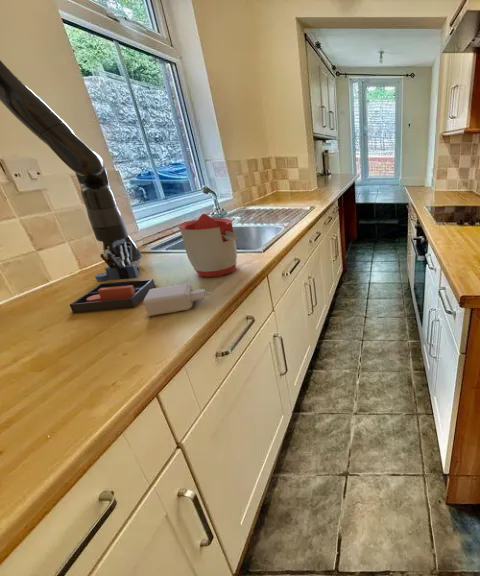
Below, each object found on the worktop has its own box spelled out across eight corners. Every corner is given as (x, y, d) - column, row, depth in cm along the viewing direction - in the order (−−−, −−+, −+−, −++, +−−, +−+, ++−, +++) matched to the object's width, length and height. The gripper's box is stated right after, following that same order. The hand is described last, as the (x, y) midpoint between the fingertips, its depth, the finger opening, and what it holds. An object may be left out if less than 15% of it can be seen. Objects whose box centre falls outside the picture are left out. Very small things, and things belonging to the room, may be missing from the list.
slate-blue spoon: (135, 279, 99) (131, 267, 98) (94, 282, 97) (89, 270, 95) (140, 275, 103) (137, 263, 101) (101, 278, 100) (96, 266, 99)
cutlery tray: (73, 313, 83) (69, 304, 82) (103, 291, 96) (100, 283, 95) (133, 307, 86) (130, 299, 85) (155, 286, 99) (153, 279, 98)
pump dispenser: (143, 262, 120) (130, 222, 113) (146, 269, 112) (132, 227, 106) (109, 268, 114) (92, 226, 107) (110, 276, 106) (93, 232, 100)
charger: (213, 306, 86) (148, 318, 81) (215, 293, 94) (155, 303, 88) (209, 291, 84) (142, 301, 79) (211, 278, 92) (150, 287, 86)
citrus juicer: (228, 282, 102) (214, 219, 94) (180, 278, 105) (163, 217, 96) (254, 265, 116) (244, 210, 108) (212, 262, 119) (199, 208, 110)
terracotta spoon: (132, 302, 87) (128, 289, 86) (85, 306, 85) (79, 293, 83) (139, 296, 91) (134, 283, 89) (93, 300, 88) (88, 287, 87)
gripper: (105, 218, 99) (124, 271, 106) (78, 228, 86) (100, 287, 93) (133, 217, 100) (149, 269, 107) (109, 227, 88) (129, 285, 95)
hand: (126, 277), depth 100 cm, fingers closed on slate-blue spoon, 2 cm apart
